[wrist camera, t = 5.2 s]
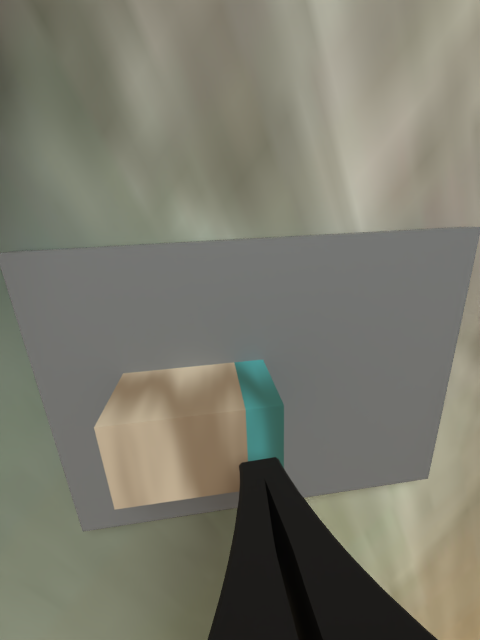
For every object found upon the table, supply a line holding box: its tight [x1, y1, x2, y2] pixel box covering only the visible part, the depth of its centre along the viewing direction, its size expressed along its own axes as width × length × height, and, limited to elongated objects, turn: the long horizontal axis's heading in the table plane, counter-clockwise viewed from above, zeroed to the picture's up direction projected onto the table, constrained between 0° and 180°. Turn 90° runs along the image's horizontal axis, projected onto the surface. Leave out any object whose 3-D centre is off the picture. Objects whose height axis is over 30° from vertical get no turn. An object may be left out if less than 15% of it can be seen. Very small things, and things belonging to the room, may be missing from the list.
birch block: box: [94, 360, 284, 510], centre depth 13 cm, size 4×4×7 cm
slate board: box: [0, 227, 480, 531], centre depth 16 cm, size 22×16×1 cm
